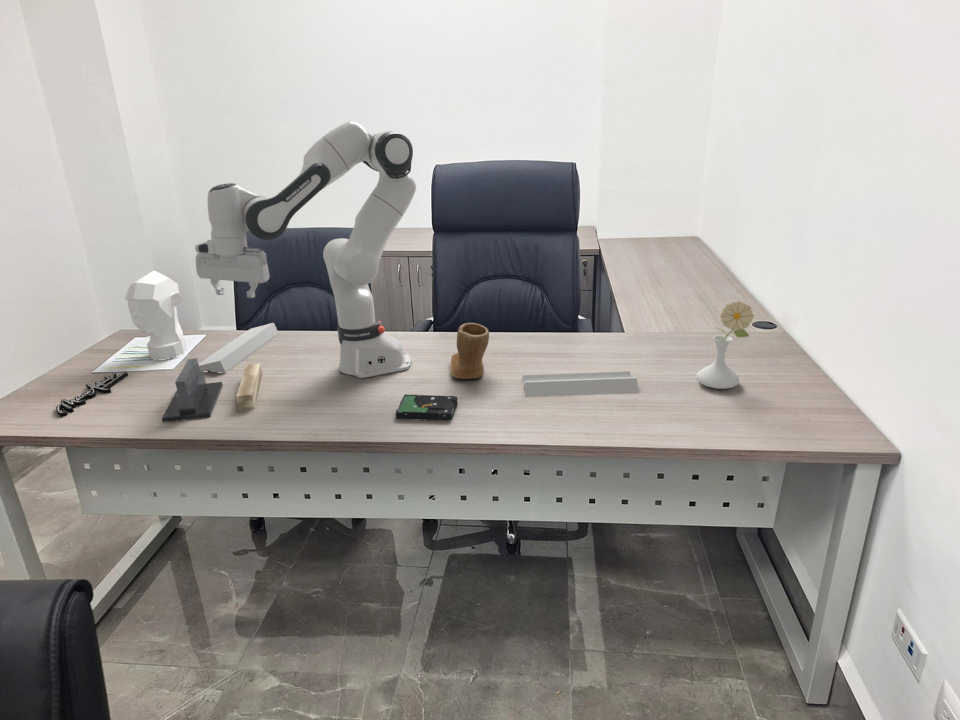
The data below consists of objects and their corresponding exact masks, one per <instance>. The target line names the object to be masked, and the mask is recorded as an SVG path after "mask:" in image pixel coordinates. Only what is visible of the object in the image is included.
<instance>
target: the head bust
mask: <svg viewBox="0 0 960 720" xmlns="http://www.w3.org/2000/svg"><path fill="white" fill-rule="evenodd" d="M179 289H180V288H179V283H177V282H176V281H174V280H173V279H171V278H170V277H168V276H166V275H164V274H162V273H161V272H158V271H156V270H152V271H151V272H148V273H147V274H145V275H143V276H142V277H140V278H139V279H136V280H135V281H133V282H132V283H130V284H129V286H128V289H127V291H126V294H125V297H124V299H125V300H126V301H127V308H128V311H129V314H130V317H131V320H132V324H133V325H134V326H136V328H138V330H139V332H140V333H142V334H145V333H149V336H150V337H149V340H148V342H147V343H146V347H147V350H148V354H149V357H150V359H152V360H153V359H156V360H155V361H157V360H159V359H167V358H172V357H176V356H179V355H181V354H183V353H184V352H185V350H186V351H187V346H186V341H185V337H184V332H183V329H182V326H181V324H180V322H179V320H178V311H177V310H178V309H177V308H178V307H179V305H180V302H181V300H182V298H181V296H180V290H179ZM185 353H186V352H185ZM185 353H184V354H185ZM184 354H183V355H184ZM181 356H182V355H181ZM179 357H180V356H179ZM172 359H173V358H172Z"/></svg>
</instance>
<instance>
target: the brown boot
mask: <svg viewBox="0 0 960 720" xmlns="http://www.w3.org/2000/svg"><path fill="white" fill-rule="evenodd" d="M489 339H490V331H489V328H488V327H486V326H484V325H482V324H480V323H475V322H467V323H463V324H461V325H460V326H459V328H458V329H457V334H456V349H457V353H454V354H452V355H451V359H450V373H451V375H452V377H453V378H455V379H459V380H474V379H478V378H481V377H482V376H483V373H484V371H485V369H484V363H483V357H484V355H485V352H486V350H487V348H488V345H489V341H490V340H489Z"/></svg>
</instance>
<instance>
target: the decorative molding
mask: <svg viewBox="0 0 960 720" xmlns="http://www.w3.org/2000/svg"><path fill="white" fill-rule="evenodd" d="M277 336H279V331H278V329H277V326H276V325H275V323H274V322H270V323H268V324H264V325H260V326H256V327H251V328H249V329H248V330H246V331H244V332H243V333H242V334H241V335H239V336H238V337H236V338H235V339H233V340H232V341H230V342H229V343H227V344H225V345H224V346H223V347H221V348H220V349H218V350H217V351H215V352H214V353H213V354H211V355H209V356H207V357H206V358H205V359H204V360H202V361H201V362H198V364H199V369H200V371H210V372H211V373H216V372H222V373H221V374H224V373H226V372H227V371H229V370H230V369H231V368H233V367H234V366H235V367H237V366H238V365H239V364H240V362H241V361H242V362H244V359H245V358H246V359H247V358H249V357H250V356H252V355H253V354H254V353H255V352H257V351H258V350H259V349H260V347H261V348H262V347H264V346H265V345H266V344H268V343H269V342H270V341H272V340H273V339H274V338H275V337H277ZM268 341H269V342H268ZM264 344H265V345H264ZM256 350H257V351H256ZM253 352H254V353H253ZM252 353H253V354H252ZM248 356H249V357H248ZM246 359H245V360H246ZM242 362H241V363H242ZM238 363H239V364H238ZM237 364H238V365H237ZM236 365H237V366H236ZM235 367H234V368H235ZM234 368H233V369H234ZM231 370H232V369H231ZM231 370H230V371H231ZM230 371H229V372H230ZM210 372H209V373H210ZM227 373H228V372H227ZM227 373H226V374H227Z"/></svg>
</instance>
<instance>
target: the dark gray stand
mask: <svg viewBox="0 0 960 720" xmlns="http://www.w3.org/2000/svg"><path fill="white" fill-rule="evenodd" d="M204 374H205V372H203V371H200V369H199V361H198V358H196V357H195V358H188V359H187V360H186V362H185V364H184V365H183V367H182V369H181V371H180V373H179V374H178V377H177V378H176V380H175V382H174V383H175V387H176V391H175V393H174V395H173V396H172V399H171V401H170V402H169V404H168V406H167V408H166V410H165V411H164V413H163V416H162V417H161V421H162V423H167V422H176V420H177V421H184V420H183V419H186V420H192V419H201V418H202V417H203V418H210V417H211V416H212V413H213V412H214V409H215V406H216V403H217V402H218V398H219V397H220V394H221V390H222V389H223V385H224V384H223V382H222V381H217V382H209V383H207V382H206V378H205V375H204ZM221 388H222V389H221ZM209 416H210V417H209Z"/></svg>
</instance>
